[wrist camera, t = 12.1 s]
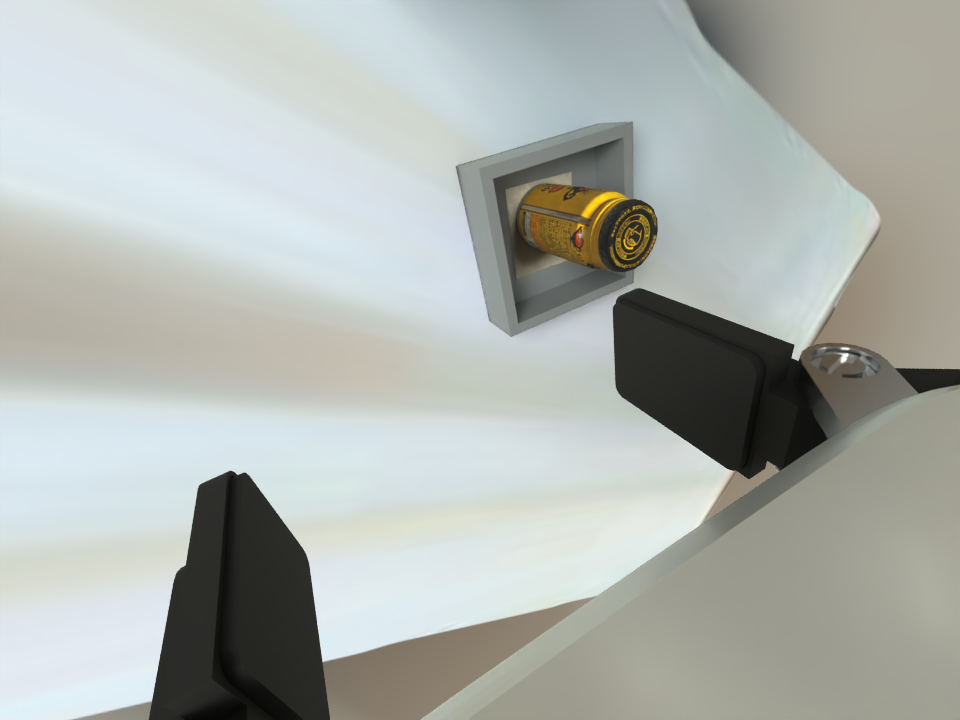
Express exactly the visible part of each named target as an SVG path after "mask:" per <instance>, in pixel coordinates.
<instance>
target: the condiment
mask: <svg viewBox="0 0 960 720" xmlns="http://www.w3.org/2000/svg"><path fill="white" fill-rule="evenodd" d="M505 192H506V201H507V211H508V219H509V226H510V234H511V240H512V245H513V256H514V264H515V268H516V277H517V279H518V278H520V277H523V276H525V275H528V274H530V273H533V272H536V271H539V270H541V269H544V268H547V267H550V266H553V265H556V264H559V263H562V262H564V261H571V262H574V263H577V264H579V265H582V266H585V267H588V268H591V269H603V268H604V269H610V270H611V271H613V272H614V271H615V272H627V271H630V270H633V269H635V268H636V267H638V266H640V265H641V264H642V263H643V262H644V260H645V259H646V258H647V257H648V255H649V254H650V252H651V250H652V249H653V246H654V243H655V241H656V237H657V229H658V228H657V218H656V215H655V213H654V209H653V208H652V207H651V206H650V205H648V204H647V203H645V202H643V201H641V200H637V199H629V198H626V197H625V196H624V195H623V194H621V193H618V192H615V191H609V190H599V189H591V188H585V187H576V186H572V172H568V173H564V174H560V175H556V176H552V177H549V178H545V179H541V180H537V181H534V182H530V183H526V184H523V185H520V186H516V187H512V188H509V189H505Z"/></svg>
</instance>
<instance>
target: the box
mask: <svg viewBox="0 0 960 720" xmlns="http://www.w3.org/2000/svg"><path fill="white" fill-rule="evenodd" d="M456 169H457V174H458V178H459V183H460V187H461V192H462V197H463V201H464V206H465V210H466V215H467V220H468V224H469V229H470V233H471V238H472V242H473V247H474V252H475V256H476V261H477V265H478V270H479V275H480V279H481V284H482V288H483V293H484V298H485V302H486V307H487V311H488V316H489V321H490V322H492V323H493V324H495V325H496V326H497V327H499V328H500V329H501V330H503V331H504V332H505V333H507V334H508V335H509V336H511V337H512V336H514V335H516V334H518V333H521V332H523V331H525V330H528V329H530V328H532V327H534V326H537V325H539V324H541V323H543V322H546V321H548V320H550V319H552V318H555V317H557V316H559V315H562V314H564V313H566V312H568V311H571V310H573V309H575V308H577V307H580V306H582V305H584V304H586V303H589V302H591V301H593V300H595V299H598V298H600V297H602V296H605V295H607V294H609V293H611V292H614V291H616V290H618V289H620V288H623V287H625V286H627V285H629V284H632V283H634V269H633V270H630V271H627V272H615V271H614V272H613V271H611V270H610V269H604V268H603V269H591V268H588V267H585V266H582V265H579V264H577V263H574V262H571V261H564V262H562V263H559V264H556V265H553V266H550V267H547V268H544V269H541V270H539V271H536V272H533V273H530V274H528V275H525V276H523V277H520V278H518V279H517V277H516V268H515V264H514V256H513V245H512V240H511V234H510V226H509V219H508V211H507V201H506V192H505V189H509V188H512V187H516V186H520V185H523V184H526V183H530V182H534V181H537V180H541V179H545V178H549V177H552V176H556V175H560V174H564V173H568V172H572V186H576V187H585V188H591V189H599V190H609V191H615V192H618V193H621V194H623V195H624V196H625V197H626V198H629V199H633V122H618V123H602V124H595V125H592V126H589V127H585V128H582V129H579V130H575V131H572V132H568V133H565V134H562V135H558V136H555V137H552V138H548V139H545V140H542V141H538V142H535V143H532V144H528V145H525V146H522V147H518V148H515V149H511V150H508V151H505V152H501V153H498V154H495V155H491V156H488V157H485V158H481V159H478V160H475V161H471V162H468V163H464V164H461V165H458V166H456Z"/></svg>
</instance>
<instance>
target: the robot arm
mask: <svg viewBox="0 0 960 720" xmlns="http://www.w3.org/2000/svg"><path fill="white" fill-rule="evenodd" d="M613 328H614V355H615V382H616V388H617V391H618V393H619V394H620V395H621V396H622V397H623V398H624V399H626V400H627V401H629V402H630V403H632V404H633V405H635V406H636V407H637V408H639V409H640V410H642V411H643V412H645V413H646V414H648V415H649V416H651V417H652V418H654V419H655V420H657V421H658V422H659V423H661V424H662V425H664V426H665V427H667V428H668V429H670V430H671V431H673V432H674V433H676V434H677V435H678V436H680V437H681V438H683V439H684V440H686V441H687V442H689V443H690V444H692V445H693V446H695V447H696V448H698V449H699V450H700V451H702V452H703V453H705V454H706V455H708V456H709V457H711V458H712V459H714V460H715V461H717V462H718V463H720V464H721V465H722V466H724V467H725V468H727V469H729V470H733V471H734V470H736V471H738V472H739V473H741V474H742V475H744V476H745V477H747V478H748V479H750V478H752V477H753V476H755V475H756V474H758V473H759V472H761V471H762V470H763V469H765V467H766V463H767V461H769V462H770V463H772V464H773V465H775V469H776V471H777V473H776V474H775V475H773V476H772V477H771V478H769V479H768V480H766V481H765V482H763V483H762V484H760V485H759V486H758V487H756V488H754V489H753V490H752V491H750V492H748V493H747V494H745V495H744V496H743V497H741V498H740V499H738V500H737V501H735V502H734V503H732V504H731V505H729V506H728V507H726V508H725V509H723V510H722V511H720V512H719V513H717V514H716V515H715V516H713V517H712V518H710V519H709V520H707V521H706V522H704V523H703V524H701V525H700V526H698V527H697V528H696V529H694V530H693V531H691V532H690V533H688V534H687V535H685V536H684V537H682V538H681V539H679V540H678V541H677V542H675V543H674V544H672V545H671V546H669V547H668V548H666V549H665V550H663V551H662V552H661V553H659V554H658V555H656V556H655V557H653V558H652V559H650V560H649V561H647V562H646V563H645V564H643V565H642V566H640V567H639V568H637V569H636V570H634V571H633V572H631V573H630V574H629V575H627V576H626V577H624V578H623V579H621V580H620V581H618V582H617V583H615V584H614V585H613V586H611V587H610V588H608V589H607V590H605V591H604V592H602V593H601V594H599V595H598V596H597V597H595V598H594V599H592V600H591V601H589V602H588V603H587V604H585V605H584V606H582V607H581V608H579V609H578V610H576V611H575V612H573V613H572V614H571V615H569V616H568V617H566V618H565V619H563V620H562V621H560V622H559V623H558V624H556V625H555V626H553V627H552V628H550V629H549V630H548V631H546V632H545V633H543V634H542V635H540V636H539V637H537V638H536V639H535V640H533V641H532V642H530V643H529V644H527V645H526V646H524V647H523V648H522V649H520V650H519V651H517V652H516V653H514V654H513V655H511V656H510V657H509V658H507V659H506V660H504V661H503V662H501V663H500V664H499V665H497V666H496V667H494V668H493V669H491V670H490V671H489V672H487V673H486V674H484V675H483V676H481V677H480V678H478V679H477V680H475V681H474V682H473V683H471V684H470V685H468V686H467V687H465V688H464V689H463V690H461V691H460V692H458V693H457V694H456V695H454V696H453V697H452V698H450V699H449V700H447V701H446V702H445V703H443V704H442V705H440V706H439V707H438V708H436V709H435V710H433V711H432V712H431V713H429V714H428V715H426V716H425V717H424V718H422V719H421V720H960V369H905V368H903V369H902V368H901V369H900V368H894V367H893V366H892V365H891V364H890V363H889V362H888V361H887V360H886V359H885V358H884V357H882V356H881V355H880V354H878V353H875V352H873V351H871V350H869V349H866V348H863V347H859V346H856V345H849V344H844V343H823V344H816V345H813V346H810V347H808V348H806V349H805V350H803V351H802V353H801V356H800V359H799V361H797V360H794V359H792V358H791V357H792V353H793V349H794V345H793V344H791V343H788V342H785V341H783V340H780V339H777V338H774V337H772V336H769V335H766V334H764V333H761V332H758V331H755V330H753V329H750V328H747V327H745V326H742V325H739V324H736V323H734V322H731V321H728V320H726V319H723V318H720V317H718V316H715V315H712V314H709V313H707V312H704V311H701V310H699V309H696V308H693V307H690V306H688V305H685V304H682V303H680V302H677V301H674V300H671V299H669V298H666V297H663V296H661V295H658V294H655V293H653V292H650V291H647V290H644V289H641V288H637V289H634V290H632V291H630V292H628V293H625V294H623V295H621V296H619V297H618V298H617V300H616V304H615V305H614V307H613ZM149 720H330V715H329V708H328V701H327V693H326V686H325V678H324V672H323V663H322V656H321V649H320V641H319V634H318V626H317V619H316V612H315V604H314V597H313V589H312V582H311V575H310V567H309V562H308V559H307V556H306V553H305V551H304V550H303V548H302V547H301V545H300V544H299V543H298V541H297V540H296V539H295V537H294V536H293V534H292V533H291V532H290V530H289V529H288V528H287V526H286V525H285V524H284V522H283V521H282V520H281V518H280V517H279V515H278V514H277V513H276V511H275V510H274V509H273V507H272V506H271V505H270V503H269V502H268V501H267V499H266V498H265V496H264V495H263V494H262V492H261V491H260V490H259V488H258V487H257V486H256V484H255V483H254V482H253V480H252V479H251V478H250V476H249V475H248V474H247V473H242V474H239V475H237V474H236V473H235V472H233V471H229V472H226V473H224V474H222V475H220V476H217V477H215V478H213V479H211V480H209V481H206V482H204V483H202V484H201V485H199V488H198V492H197V498H196V505H195V511H194V517H193V524H192V530H191V536H190V543H189V549H188V555H187V561H186V566H184V567H182V568H180V570H179V571H178V572H177V573H176V576H175V579H174V583H173V589H172V594H171V600H170V605H169V611H168V616H167V622H166V627H165V633H164V638H163V644H162V650H161V655H160V661H159V666H158V672H157V677H156V683H155V688H154V694H153V699H152V705H151V711H150V717H149Z"/></svg>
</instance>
